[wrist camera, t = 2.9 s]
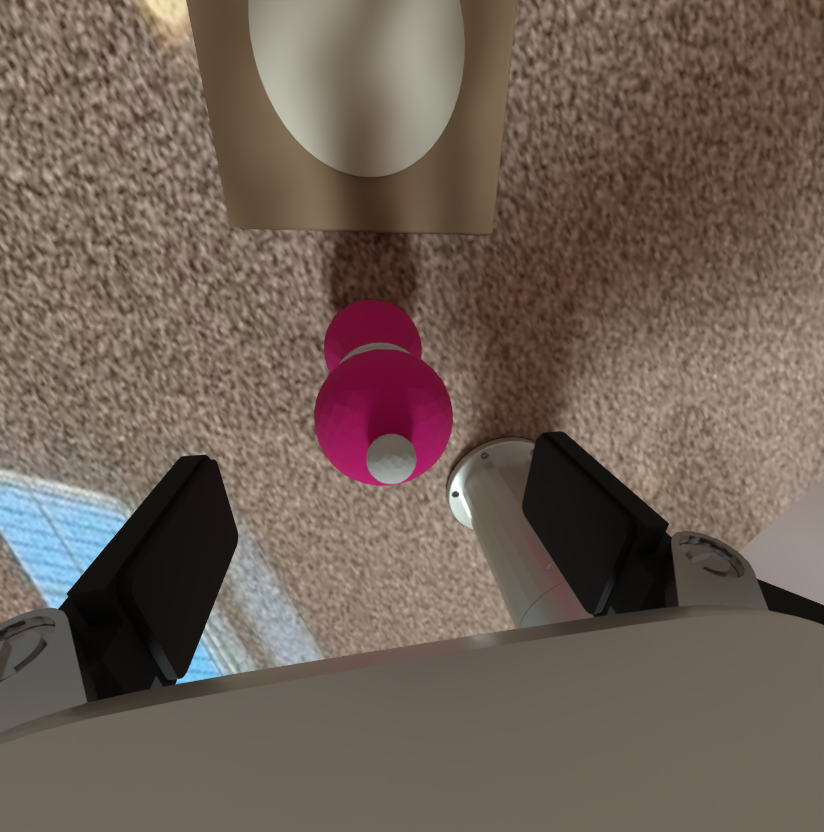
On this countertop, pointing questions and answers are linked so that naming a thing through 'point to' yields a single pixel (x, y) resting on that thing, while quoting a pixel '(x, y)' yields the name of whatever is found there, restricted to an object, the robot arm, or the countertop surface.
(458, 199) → the walnut stand
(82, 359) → the countertop surface
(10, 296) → the countertop surface
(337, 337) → the pepper mill
